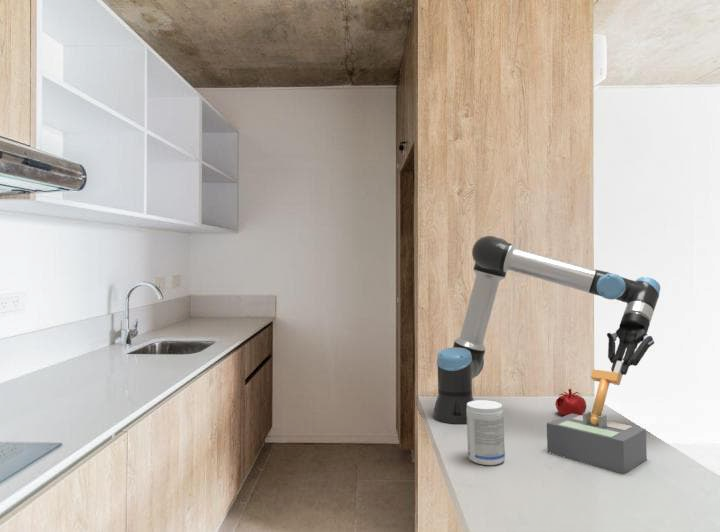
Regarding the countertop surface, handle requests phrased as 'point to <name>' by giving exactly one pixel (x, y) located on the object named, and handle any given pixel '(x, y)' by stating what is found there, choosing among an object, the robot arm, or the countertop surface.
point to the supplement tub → (485, 432)
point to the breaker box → (597, 442)
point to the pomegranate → (570, 404)
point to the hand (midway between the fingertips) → (615, 382)
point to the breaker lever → (602, 391)
